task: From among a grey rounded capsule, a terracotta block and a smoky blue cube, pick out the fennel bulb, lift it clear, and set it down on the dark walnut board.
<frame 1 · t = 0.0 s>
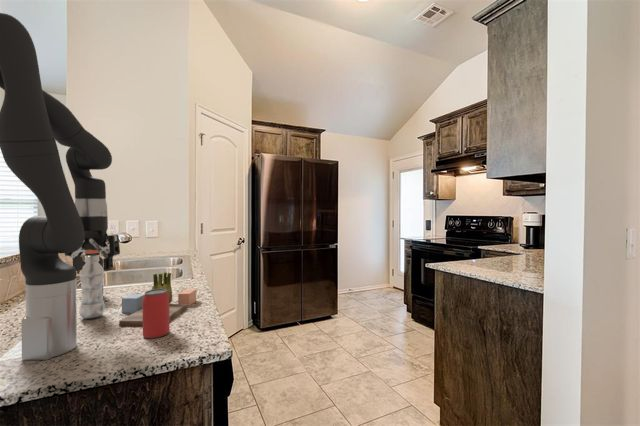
hand: (93, 270, 86), 17 cm above the counter, tool pointing down, fingers open, 8 cm apart
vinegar: (92, 298, 118), on the counter
walnut board: (155, 316, 97), on the counter
beer can: (156, 335, 83), on the counter
grey rounded capsule: (158, 298, 117), on the counter
smoky blue cube: (133, 310, 103), on the counter
fennel bulb: (163, 305, 109), on the counter
plastic bottle: (92, 318, 96), on the counter
terracotta block: (187, 303, 111), on the counter
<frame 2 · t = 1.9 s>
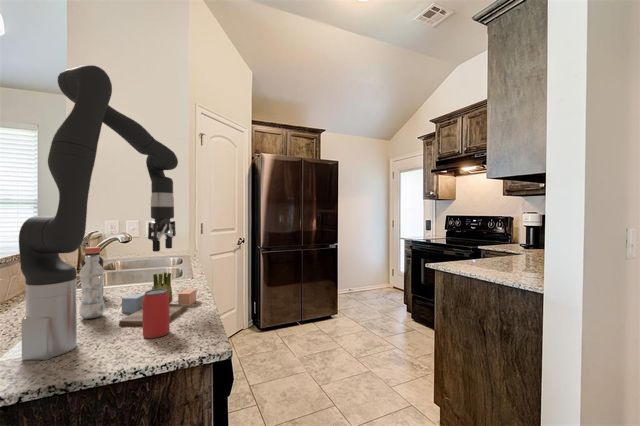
hand: (162, 249, 109), 20 cm above the counter, tool pointing down, fingers open, 8 cm apart
nothing on the counter moved.
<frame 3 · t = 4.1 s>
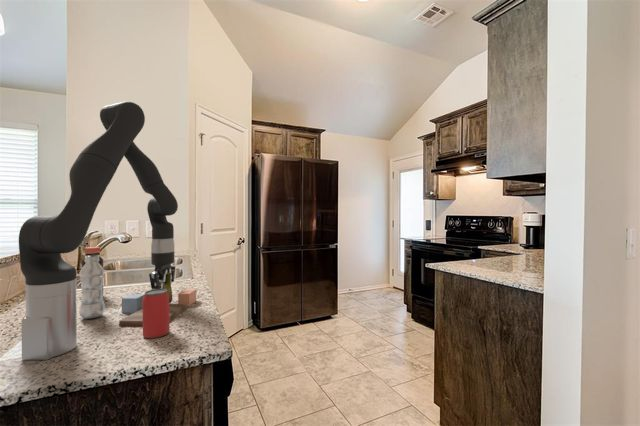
hand: (163, 296, 109), 3 cm above the counter, tool pointing down, fingers closed on fennel bulb, 5 cm apart
fennel bulb: (163, 305, 109), on the counter, touching gripper
everything else where it was.
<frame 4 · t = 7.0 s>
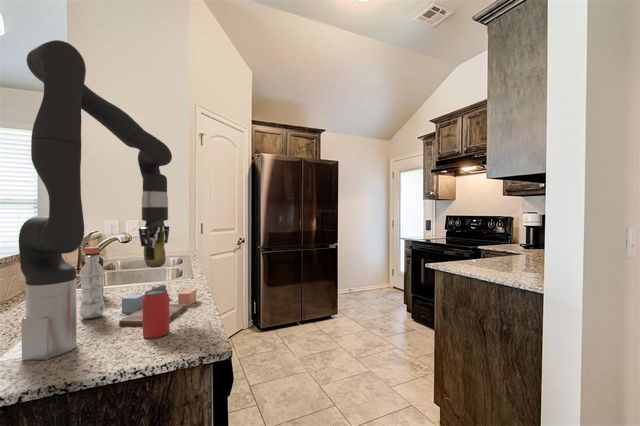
hand: (155, 258, 97), 19 cm above the counter, tool pointing down, fingers closed on fennel bulb, 4 cm apart
fennel bulb: (155, 267, 97), point 16 cm above the counter, touching gripper
everything else where it was.
when the fingers open (6 cm above the counter, at t = 9.9 s): fennel bulb drops 1 cm, resting on walnut board.
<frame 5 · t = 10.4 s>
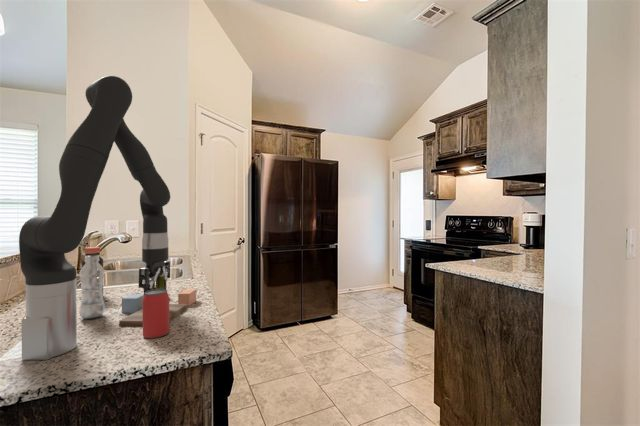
hand: (155, 296, 97), 7 cm above the counter, tool pointing down, fingers open, 8 cm apart
fennel bulb: (155, 312, 97), point 1 cm above the counter, touching walnut board
everything else where it was.
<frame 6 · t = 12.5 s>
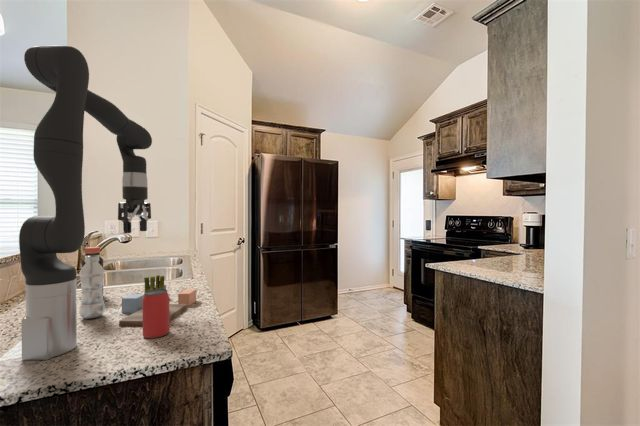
hand: (135, 232, 105), 27 cm above the counter, tool pointing down, fingers open, 8 cm apart
nothing on the counter moved.
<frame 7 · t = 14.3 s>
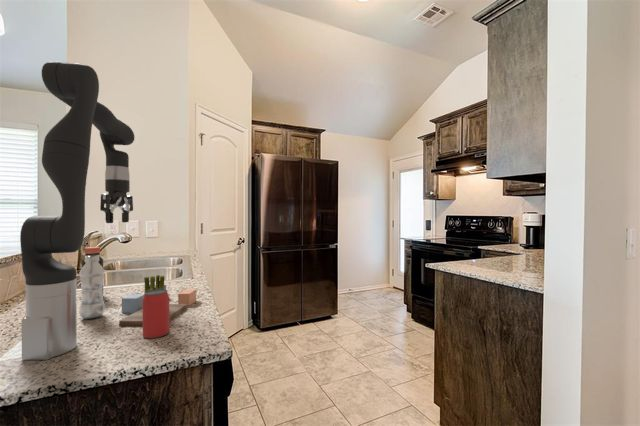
hand: (117, 222, 111), 30 cm above the counter, tool pointing down, fingers open, 8 cm apart
nothing on the counter moved.
at the end: fennel bulb inside the target area on the walnut board (0.0 cm from its centre), point 1.3 cm above the walnut board's base; the gripper is holding nothing; terracotta block moved 0.2 cm from its start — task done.
